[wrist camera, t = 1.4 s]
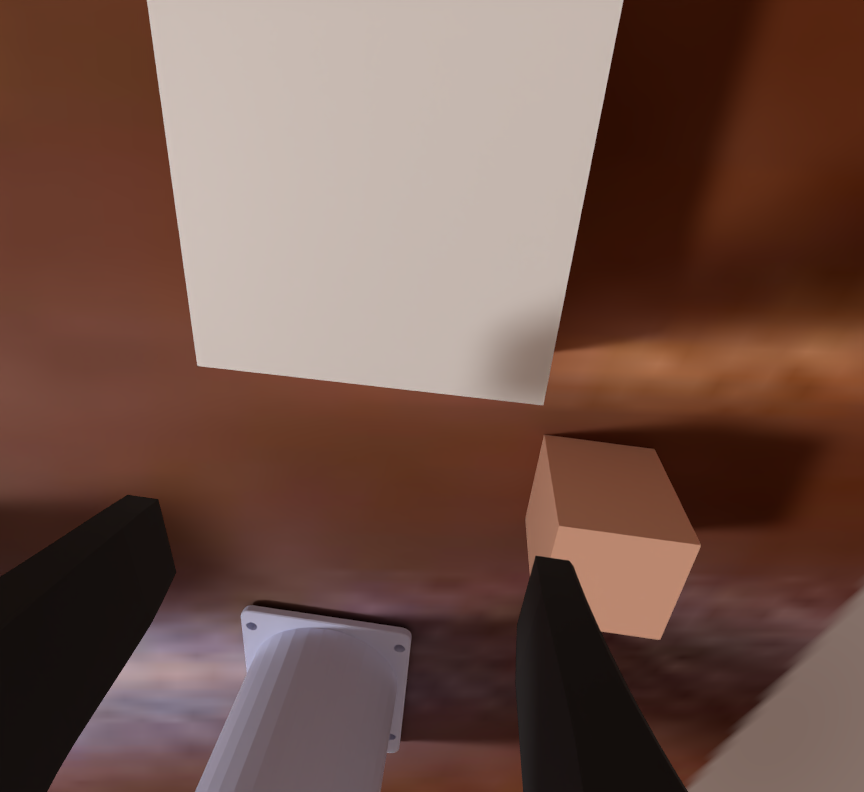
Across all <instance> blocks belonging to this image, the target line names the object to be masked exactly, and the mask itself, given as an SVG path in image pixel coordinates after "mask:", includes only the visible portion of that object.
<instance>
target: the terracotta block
mask: <svg viewBox="0 0 864 792" xmlns="http://www.w3.org/2000/svg"><path fill="white" fill-rule="evenodd" d="M525 521H526V533H527V546H528V558H529V570H530V575H531V571H532V567H533V564H534V560H535V556H542V557H549V558H555V559H562V560H569V561H570V562H571V563H572V565H573V566H574V568H575V571H576V574H577V577H578V579H579V582H580V584H581V587H582V589H583V592H584V594H585V597H586V599H587V601H588V604H589V606H590V608H591V611H592V613H593V615H594V617H595V620H596V622H597V624H598V626H599V629H600V631H601V632H608V633H615V634H622V635H629V636H636V637H642V638H649V639H656V640H660V639H661V637H662V634H663V632H664V630H665V627H666V625H667V623H668V621H669V618H670V616H671V614H672V611H673V609H674V607H675V604H676V602H677V600H678V597H679V595H680V593H681V591H682V588H683V586H684V584H685V581H686V579H687V577H688V574H689V572H690V570H691V567H692V565H693V563H694V561H695V558H696V556H697V554H698V551H699V549H700V547H701V544H700V542H699V540H698V538H697V536H696V534H695V532H694V530H693V528H692V525H691V523H690V521H689V519H688V517H687V515H686V513H685V511H684V509H683V507H682V505H681V503H680V501H679V499H678V497H677V494H676V492H675V490H674V488H673V486H672V484H671V482H670V480H669V478H668V476H667V474H666V472H665V470H664V468H663V465H662V463H661V461H660V459H659V457H658V455H657V453H656V451H655V449H650V448H643V447H635V446H628V445H620V444H612V443H605V442H597V441H589V440H582V439H574V438H566V437H559V436H551V435H544V438H543V442H542V447H541V451H540V456H539V460H538V465H537V469H536V474H535V478H534V482H533V487H532V491H531V496H530V500H529V505H528V509H527V514H526V518H525Z"/></svg>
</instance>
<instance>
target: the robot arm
mask: <svg viewBox="0 0 864 792" xmlns="http://www.w3.org/2000/svg"><path fill="white" fill-rule="evenodd" d="M175 574H176V569H175V565H174V561H173V557H172V553H171V549H170V545H169V541H168V537H167V533H166V529H165V525H164V521H163V517H162V513H161V509H160V505H159V501H158V499H152V498H145V497H138V496H132V495H127V496H125V497H124V498H122V499H120V500H119V501H117V502H115V503H114V504H112V505H111V506H109V507H108V508H106V509H104V510H103V511H101V512H100V513H98V514H97V515H95V516H94V517H92V518H91V519H89V520H88V521H86V522H85V523H83V524H81V525H80V526H78V527H77V528H75V529H74V530H72V531H71V532H69V533H68V534H66V535H65V536H63V537H62V538H60V539H59V540H57V541H56V542H54V543H53V544H51V545H49V546H48V547H46V548H45V549H43V550H42V551H40V552H38V553H37V554H35V555H34V556H32V557H31V558H29V559H28V560H26V561H24V562H23V563H21V564H20V565H18V566H17V567H15V568H14V569H12V570H10V571H9V572H7V573H6V574H4V575H3V576H1V577H0V792H47V791H48V789H49V787H50V785H51V783H52V781H53V780H54V778H55V776H56V774H57V772H58V770H59V769H60V767H61V765H62V763H63V762H64V760H65V758H66V757H67V755H68V753H69V752H70V750H71V748H72V747H73V745H74V743H75V742H76V740H77V739H78V737H79V736H80V734H81V732H82V731H83V729H84V728H85V726H86V725H87V723H88V722H89V720H90V719H91V717H92V715H93V714H94V712H95V711H96V709H97V708H98V706H99V705H100V703H101V701H102V700H103V698H104V697H105V695H106V694H107V692H108V691H109V689H110V688H111V686H112V684H113V683H114V681H115V680H116V678H117V677H118V675H119V674H120V672H121V671H122V669H123V667H124V666H125V664H126V663H127V661H128V660H129V658H130V656H131V655H132V653H133V652H134V650H135V649H136V647H137V645H138V644H139V642H140V641H141V639H142V638H143V636H144V634H145V633H146V631H147V630H148V628H149V626H150V625H151V623H152V621H153V619H154V617H155V615H156V613H157V611H158V609H159V607H160V605H161V603H162V601H163V599H164V597H165V595H166V593H167V591H168V589H169V586H170V584H171V582H172V580H173V578H174V576H175ZM241 622H242V631H243V641H244V650H245V659H246V669H247V675H246V677H245V679H244V681H243V684H242V686H241V688H240V691H239V693H238V695H237V697H236V700H235V702H234V704H233V707H232V709H231V711H230V713H229V716H228V718H227V720H226V722H225V725H224V727H223V729H222V732H221V734H220V736H219V738H218V741H217V743H216V745H215V747H214V750H213V752H212V754H211V757H210V759H209V761H208V763H207V766H206V768H205V770H204V772H203V775H202V777H201V779H200V782H199V784H198V786H197V788H196V791H195V792H380V790H381V784H382V778H383V772H384V766H385V760H386V754H387V752H388V753H394V752H396V751H398V750H399V746H400V739H401V730H402V720H403V711H404V702H405V693H406V684H407V675H408V666H409V657H410V648H411V639H412V635H411V633H410V631H409V630H407V629H406V628H402V627H396V626H389V625H383V624H376V623H369V622H362V621H356V620H349V619H342V618H336V617H329V616H322V615H315V614H309V613H302V612H295V611H288V610H282V609H275V608H268V607H261V606H255V605H249V606H246V607H245V608H244V610H243V612H242V614H241ZM515 683H516V698H517V712H518V727H519V741H520V754H521V768H522V781H523V792H688V791H687V789H686V788H685V786H684V785H683V783H682V781H681V780H680V778H679V777H678V775H677V773H676V772H675V770H674V768H673V767H672V765H671V763H670V762H669V760H668V758H667V756H666V755H665V753H664V751H663V750H662V748H661V746H660V745H659V743H658V741H657V739H656V737H655V736H654V734H653V732H652V730H651V728H650V727H649V725H648V723H647V721H646V720H645V718H644V716H643V714H642V712H641V711H640V709H639V707H638V705H637V703H636V701H635V699H634V697H633V696H632V694H631V692H630V690H629V688H628V686H627V684H626V682H625V680H624V678H623V676H622V674H621V672H620V670H619V668H618V666H617V664H616V662H615V660H614V658H613V656H612V654H611V652H610V650H609V648H608V646H607V644H606V642H605V639H604V637H603V635H602V633H601V631H600V629H599V626H598V624H597V622H596V620H595V617H594V615H593V613H592V611H591V608H590V606H589V604H588V601H587V599H586V597H585V594H584V592H583V589H582V587H581V584H580V582H579V579H578V577H577V574H576V571H575V568H574V566H573V565H572V563H571V562H570V561H569V560H562V559H555V558H549V557H542V556H535V560H534V564H533V567H532V571H531V575H530V578H529V582H528V586H527V590H526V593H525V597H524V601H523V605H522V608H521V612H520V616H519V620H518V623H517V641H516V679H515Z"/></svg>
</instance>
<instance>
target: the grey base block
mask: <svg viewBox="0 0 864 792" xmlns="http://www.w3.org/2000/svg"><path fill="white" fill-rule="evenodd" d="M147 4H148V11H149V18H150V25H151V33H152V40H153V47H154V55H155V62H156V69H157V76H158V84H159V91H160V98H161V105H162V113H163V120H164V127H165V134H166V142H167V149H168V156H169V163H170V171H171V178H172V185H173V193H174V200H175V207H176V214H177V222H178V229H179V236H180V243H181V251H182V258H183V265H184V272H185V280H186V287H187V294H188V301H189V309H190V316H191V323H192V331H193V338H194V345H195V352H196V360H197V366H203V367H212V368H221V369H229V370H238V371H247V372H256V373H265V374H273V375H282V376H291V377H300V378H308V379H317V380H326V381H335V382H343V383H352V384H361V385H370V386H379V387H387V388H396V389H405V390H414V391H422V392H431V393H440V394H449V395H457V396H466V397H475V398H484V399H492V400H501V401H510V402H519V403H528V404H536V405H543V404H544V399H545V394H546V389H547V384H548V379H549V374H550V369H551V363H552V358H553V353H554V348H555V343H556V338H557V333H558V328H559V323H560V318H561V313H562V308H563V303H564V298H565V293H566V288H567V283H568V278H569V273H570V267H571V262H572V257H573V252H574V247H575V242H576V237H577V232H578V227H579V222H580V217H581V212H582V207H583V202H584V197H585V192H586V187H587V182H588V177H589V171H590V166H591V161H592V156H593V151H594V146H595V141H596V136H597V131H598V126H599V121H600V116H601V111H602V106H603V101H604V96H605V91H606V86H607V81H608V75H609V70H610V65H611V60H612V55H613V50H614V45H615V40H616V35H617V30H618V25H619V20H620V15H621V10H622V5H623V0H147Z"/></svg>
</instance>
